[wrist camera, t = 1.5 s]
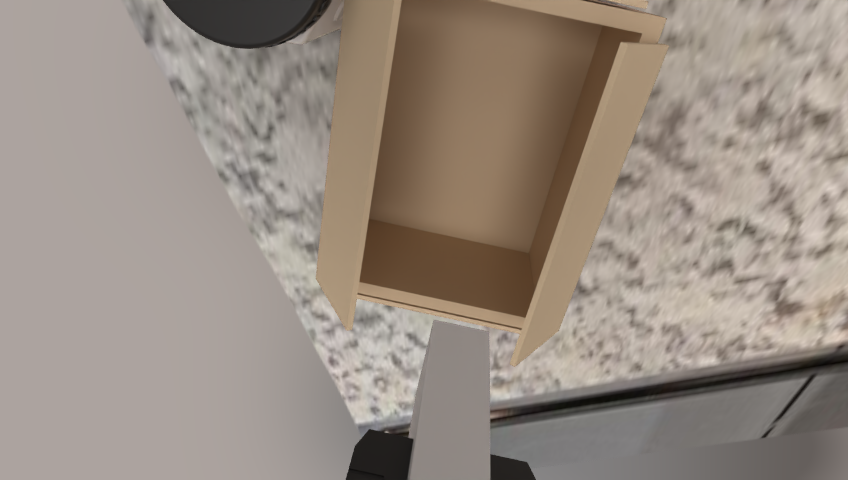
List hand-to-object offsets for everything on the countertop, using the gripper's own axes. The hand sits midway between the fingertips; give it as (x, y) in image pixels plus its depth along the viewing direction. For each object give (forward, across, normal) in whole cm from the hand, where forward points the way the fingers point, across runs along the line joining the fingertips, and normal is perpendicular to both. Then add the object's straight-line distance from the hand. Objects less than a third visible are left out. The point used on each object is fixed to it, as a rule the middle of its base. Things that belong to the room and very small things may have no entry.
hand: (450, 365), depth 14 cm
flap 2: (+12, +6, 0) cm, 13 cm away
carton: (+24, 0, 0) cm, 24 cm away
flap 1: (+12, -6, 0) cm, 13 cm away
